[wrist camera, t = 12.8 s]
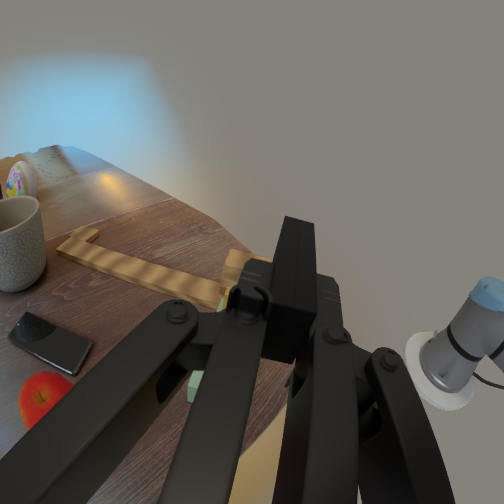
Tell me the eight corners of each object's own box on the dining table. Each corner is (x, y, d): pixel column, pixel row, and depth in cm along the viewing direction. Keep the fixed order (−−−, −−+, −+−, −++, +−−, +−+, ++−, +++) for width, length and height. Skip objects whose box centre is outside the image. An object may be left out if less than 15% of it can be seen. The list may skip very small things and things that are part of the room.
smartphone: (74, 375, 31) (5, 337, 30) (76, 378, 32) (7, 341, 31) (93, 340, 37) (26, 309, 36) (94, 344, 38) (28, 314, 37)
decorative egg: (3, 208, 63) (-2, 166, 55) (26, 194, 73) (23, 155, 65) (21, 214, 62) (15, 168, 55) (45, 199, 73) (42, 157, 65)
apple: (49, 398, 27) (15, 349, 21) (104, 407, 30) (80, 360, 23) (42, 454, 19) (-4, 418, 13) (102, 467, 22) (70, 439, 16)
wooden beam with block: (265, 282, 61) (279, 235, 55) (255, 328, 49) (271, 276, 43) (82, 230, 63) (79, 187, 57) (49, 257, 51) (40, 210, 45)
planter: (31, 246, 52) (21, 189, 44) (65, 273, 49) (53, 207, 41) (-19, 278, 38) (-38, 218, 30) (7, 316, 35) (-20, 247, 27)
